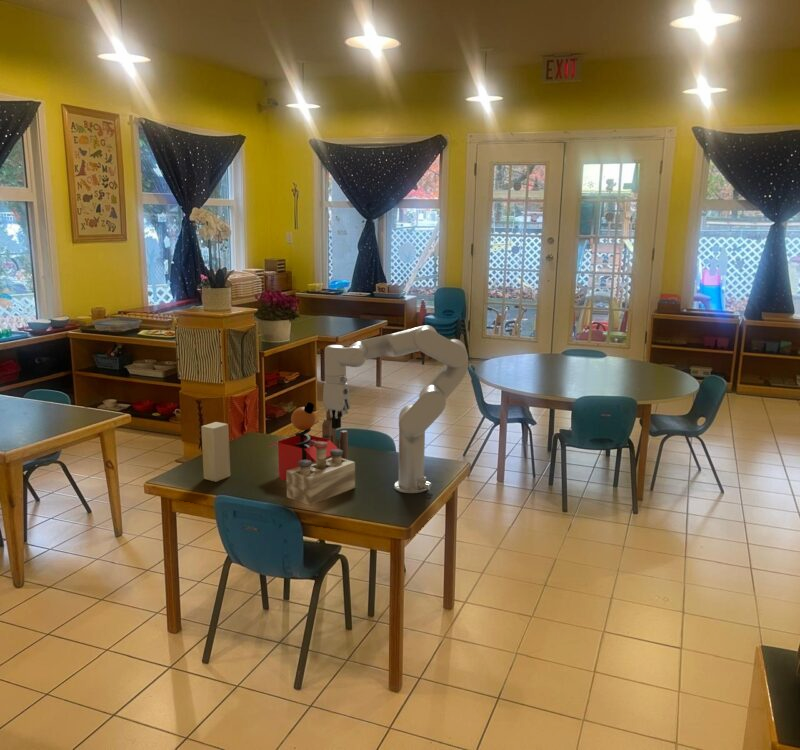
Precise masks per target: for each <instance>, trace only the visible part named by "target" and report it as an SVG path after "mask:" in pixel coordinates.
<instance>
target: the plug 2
mask: <svg viewBox="0 0 800 750" xmlns="http://www.w3.org/2000/svg"><path fill="white" fill-rule="evenodd" d="M330 455H331V456H332V463H334V464H340V463H342V460H341V455H343V451H342V450H340V449H334V450H331V451H330Z"/></svg>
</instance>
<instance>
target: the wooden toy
mask: <svg viewBox="0 0 800 750" xmlns="http://www.w3.org/2000/svg"><path fill="white" fill-rule="evenodd" d="M325 411H326V410H325ZM325 413H326V418H325V419H324V420H323V421H322V427H321V429H322V435H321V437H320V438H324V439H329V440H330V441H331V442H332V443H333V444H334V445H335V446H336V447H337V448H338V449H340V450H342V451H343V455H341V458H343V459H346V460H349V437H348V436H349V432H348V430H346V429H345V430H344V429H343V430H340V431H339V438H338V437H337V429H334V428H332V418H331V417H330V413H329V412H328V411H326V412H325Z"/></svg>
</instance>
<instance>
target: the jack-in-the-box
mask: <svg viewBox="0 0 800 750" xmlns="http://www.w3.org/2000/svg"><path fill="white" fill-rule="evenodd" d="M314 407H315V405H314V403H312V402H310V401H309V402H307V403H306V405H305V406H300V407H297V408H296V409H295V410H294V411H293V412H292V414H291V416H290V421H291V424H292V426H293V427H295V428H296V429H297V430H299V432H296V433H295V434H294V435H292V436H290V437H287V438H284V439H281V440H278V441H276V442H274V443H272V444H270V445H269V446H268V447H267V448H266V449H268V448H271V447H275V446H277V447H278V449H277V451H278V479H280V480H282V481H286V482H287V477H286V471H287V470H290V469H293V468H296V467H299V463H298V462H299V461H300V460H311V461H312V462H314V461H316V448H315V443H316V442H327V447H326V457H328V456H331V455H330V451H331V450H334V449H338V448H337V447H336V446H335V445H334V444H333V443H332V442H331V441H330V440H329V439H324V438H321V437H320V436H315V435H311V434H308V433H309V432H311V430H312V427H314V425H315V423H316V414H315V412H314Z"/></svg>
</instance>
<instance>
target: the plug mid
mask: <svg viewBox="0 0 800 750" xmlns="http://www.w3.org/2000/svg"><path fill="white" fill-rule="evenodd" d="M326 447H327V442H316V443H315V448H316V468H317V469H325V468H326Z"/></svg>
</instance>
